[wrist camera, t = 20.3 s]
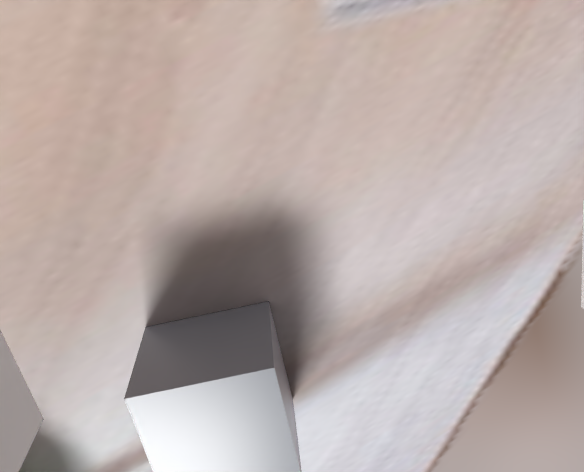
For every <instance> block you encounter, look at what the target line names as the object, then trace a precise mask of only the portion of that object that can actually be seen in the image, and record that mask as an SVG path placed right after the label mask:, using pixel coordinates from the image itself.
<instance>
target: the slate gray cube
mask: <svg viewBox="0 0 584 472" xmlns="http://www.w3.org/2000/svg"><path fill="white" fill-rule="evenodd" d="M124 400H125V402H126V405H127V407H128V410H129V412H130V415H131V417H132V420H133V422H134V425H135V427H136V430H137V432H138V435H139V437H140V440H141V442H142V445H143V447H144V450H145V452H146V455H147V457H148V460H149V462H150V465H151V467H152V470H153V472H301V463H300V455H299V447H298V438H297V430H296V422H295V414H294V405H293V398H292V394H291V390H290V386H289V382H288V378H287V374H286V370H285V365H284V361H283V357H282V353H281V349H280V345H279V341H278V337H277V333H276V329H275V324H274V320H273V316H272V312H271V308H270V304H269V301H268V302H263V303H259V304H254V305H249V306H244V307H240V308H235V309H230V310H225V311H221V312H216V313H211V314H206V315H201V316H197V317H192V318H187V319H182V320H178V321H173V322H168V323H163V324H159V325H154V326H149V327H146V328H145V331H144V334H143V338H142V341H141V344H140V348H139V351H138V355H137V358H136V361H135V365H134V368H133V371H132V375H131V378H130V381H129V385H128V388H127V392H126V395H125V398H124Z"/></svg>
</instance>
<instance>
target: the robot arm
mask: <svg viewBox="0 0 584 472" xmlns="http://www.w3.org/2000/svg"><path fill="white" fill-rule="evenodd" d="M581 306H582V308H584V200H583V249H582V300H581ZM43 420H44V419H43V417H42V414H41V412H40V410H39V408H38V406H37V404H36V402H35V400H34V398H33V396H32V394H31V392H30V390H29V388H28V386H27V384H26V382H25V379H24V377H23V375H22V373H21V371H20V369H19V367H18V365H17V363H16V361H15V359H14V357H13V355H12V353H11V351H10V349H9V346H8V344H7V342H6V340H5V338H4V336H3V334H2V332H1V330H0V472H19V470H20V468H21V466H22V464H23V462H24V460H25V458H26V456H27V453H28V451H29V449H30V447H31V445H32V443H33V441H34V439H35V437H36V434H37V432H38V430H39V428H40V426H41V424H42V422H43Z"/></svg>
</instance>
